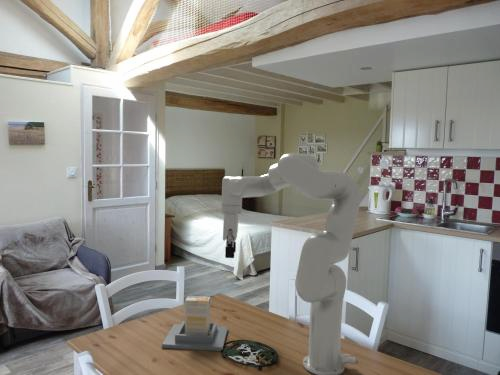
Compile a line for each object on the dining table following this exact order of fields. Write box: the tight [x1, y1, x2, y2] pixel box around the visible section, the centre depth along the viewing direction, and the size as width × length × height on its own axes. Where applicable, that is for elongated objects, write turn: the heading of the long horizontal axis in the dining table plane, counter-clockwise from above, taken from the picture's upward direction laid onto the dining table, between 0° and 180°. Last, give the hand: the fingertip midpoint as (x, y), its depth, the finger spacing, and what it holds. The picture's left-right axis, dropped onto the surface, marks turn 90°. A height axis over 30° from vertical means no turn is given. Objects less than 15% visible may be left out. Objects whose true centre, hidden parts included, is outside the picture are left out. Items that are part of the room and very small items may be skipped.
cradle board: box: [161, 320, 229, 352], centre depth 140 cm, size 20×17×4 cm
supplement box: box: [184, 295, 211, 336], centre depth 140 cm, size 8×5×13 cm, turn 86°
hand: (230, 254), depth 150 cm, fingers open, 9 cm apart
